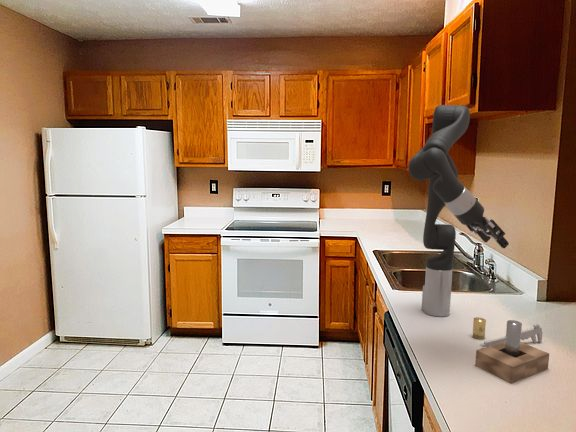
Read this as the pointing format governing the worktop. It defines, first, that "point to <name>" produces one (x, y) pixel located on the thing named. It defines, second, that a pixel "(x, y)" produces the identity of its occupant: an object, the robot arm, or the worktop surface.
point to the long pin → (513, 338)
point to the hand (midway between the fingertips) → (496, 243)
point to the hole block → (512, 361)
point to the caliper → (524, 335)
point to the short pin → (479, 328)
